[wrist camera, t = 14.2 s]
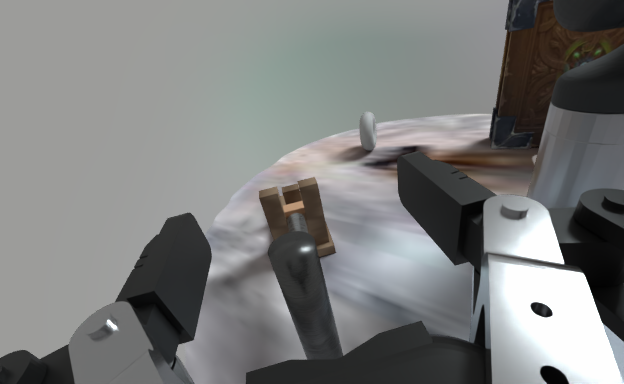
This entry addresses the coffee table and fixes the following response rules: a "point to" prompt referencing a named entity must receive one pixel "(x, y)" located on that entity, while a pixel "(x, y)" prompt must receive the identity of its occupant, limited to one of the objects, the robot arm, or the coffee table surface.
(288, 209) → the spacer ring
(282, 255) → the grey piece
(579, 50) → the decorative book
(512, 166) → the coffee table surface
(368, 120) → the donut
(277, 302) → the coffee table surface
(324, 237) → the shaft stand
